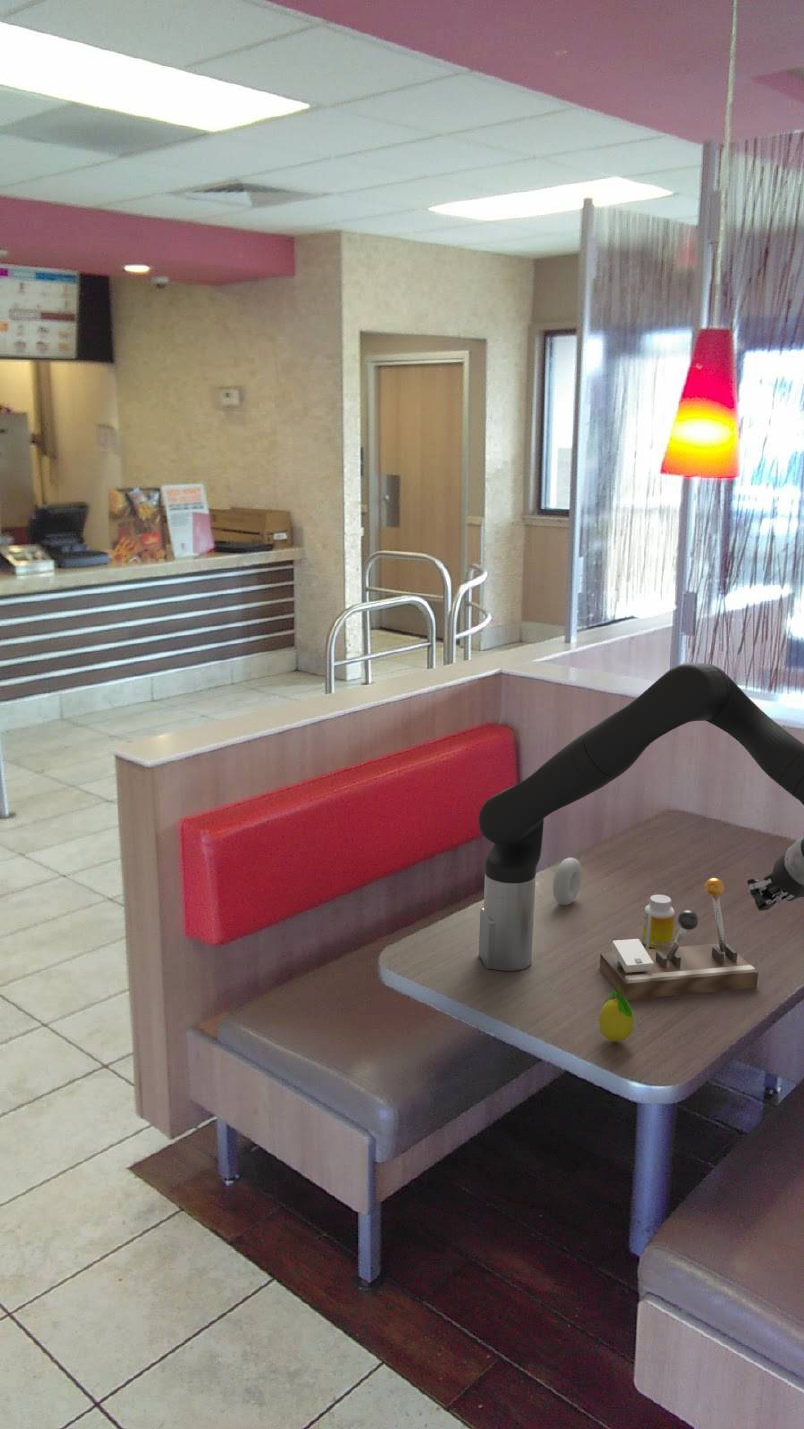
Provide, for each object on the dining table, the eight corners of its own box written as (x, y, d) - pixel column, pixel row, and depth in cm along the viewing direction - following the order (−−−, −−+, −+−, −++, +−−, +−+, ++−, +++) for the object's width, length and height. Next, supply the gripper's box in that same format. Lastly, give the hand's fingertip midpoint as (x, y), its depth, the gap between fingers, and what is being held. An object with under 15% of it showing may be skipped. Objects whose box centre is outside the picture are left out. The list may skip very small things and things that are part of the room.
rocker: (625, 972, 197) (627, 964, 197) (611, 947, 204) (612, 940, 203) (652, 970, 198) (653, 962, 198) (637, 945, 205) (638, 937, 204)
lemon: (629, 1056, 178) (634, 999, 175) (593, 1048, 180) (597, 991, 177) (638, 1036, 184) (642, 980, 181) (602, 1028, 186) (606, 973, 183)
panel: (625, 999, 196) (626, 974, 194) (599, 968, 207) (601, 944, 206) (756, 987, 201) (759, 963, 199) (724, 957, 212) (726, 934, 211)
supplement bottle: (678, 950, 214) (682, 901, 212) (655, 957, 212) (659, 906, 209) (658, 939, 219) (661, 890, 217) (636, 945, 216) (639, 896, 214)
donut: (564, 913, 230) (567, 868, 228) (548, 909, 232) (551, 864, 229) (583, 897, 238) (585, 853, 236) (568, 893, 240) (570, 849, 238)
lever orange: (719, 952, 203) (708, 877, 206) (710, 953, 206) (700, 879, 209) (736, 950, 204) (725, 876, 207) (727, 951, 207) (717, 878, 210)
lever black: (663, 967, 200) (685, 922, 191) (657, 951, 203) (678, 906, 194) (681, 965, 201) (703, 921, 192) (674, 949, 203) (696, 905, 194)
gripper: (838, 840, 179) (789, 882, 194) (763, 844, 176) (718, 886, 191) (854, 883, 175) (803, 923, 190) (777, 889, 173) (731, 929, 187)
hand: (760, 905), depth 190 cm, fingers closed
